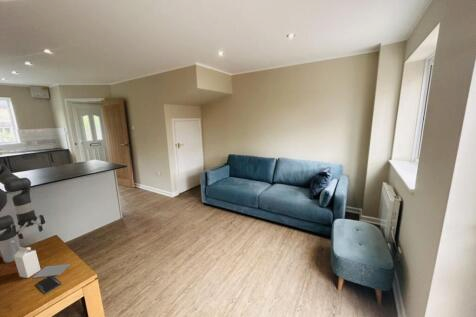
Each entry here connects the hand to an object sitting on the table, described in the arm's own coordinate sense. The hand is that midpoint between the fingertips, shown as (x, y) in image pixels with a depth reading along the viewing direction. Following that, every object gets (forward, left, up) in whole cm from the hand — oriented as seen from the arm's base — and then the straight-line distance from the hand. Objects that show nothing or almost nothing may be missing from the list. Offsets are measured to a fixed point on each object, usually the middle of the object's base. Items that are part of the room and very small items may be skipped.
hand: (31, 235), depth 120 cm
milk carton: (-11, -2, -29) cm, 31 cm away
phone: (+13, -2, -30) cm, 33 cm away
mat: (+1, +5, -29) cm, 30 cm away
